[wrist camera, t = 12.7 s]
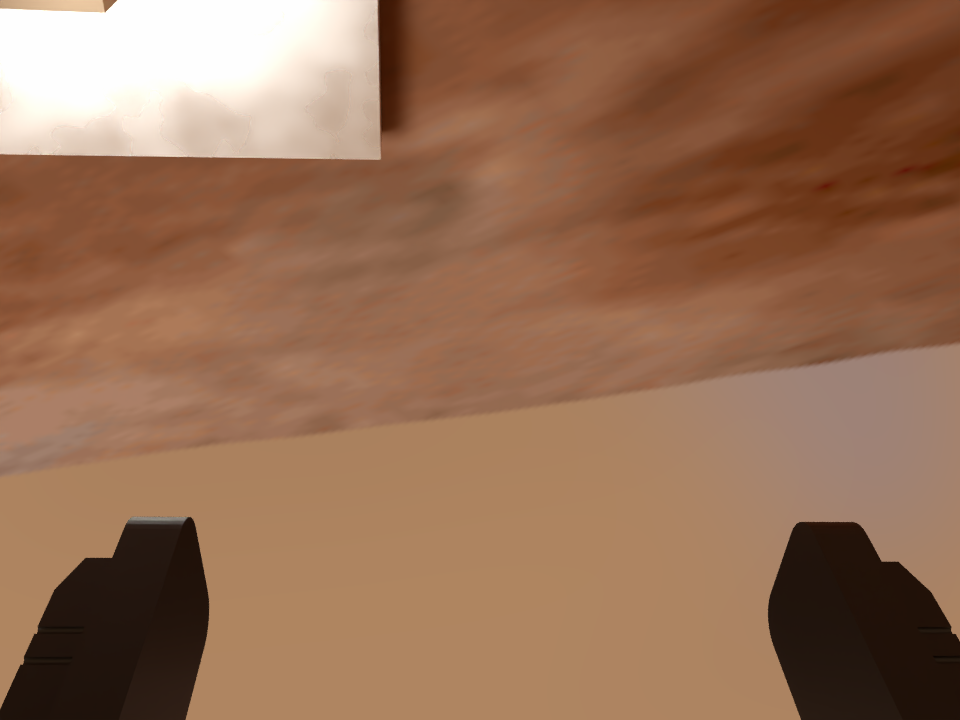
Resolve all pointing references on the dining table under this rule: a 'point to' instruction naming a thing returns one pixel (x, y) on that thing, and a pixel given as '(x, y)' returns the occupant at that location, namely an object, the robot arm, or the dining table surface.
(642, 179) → the dining table surface
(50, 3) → the wooden block
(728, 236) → the dining table surface
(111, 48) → the square slotted board
